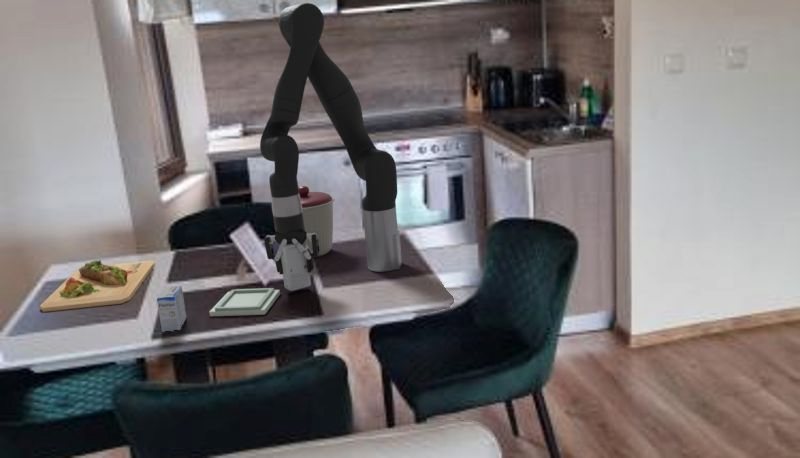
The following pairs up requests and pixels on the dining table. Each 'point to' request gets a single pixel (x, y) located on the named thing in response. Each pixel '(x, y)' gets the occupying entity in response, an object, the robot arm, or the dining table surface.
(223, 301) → the light green square tray
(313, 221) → the canister
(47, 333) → the dining table surface
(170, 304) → the medicine box
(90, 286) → the cutting board
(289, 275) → the skincare box
